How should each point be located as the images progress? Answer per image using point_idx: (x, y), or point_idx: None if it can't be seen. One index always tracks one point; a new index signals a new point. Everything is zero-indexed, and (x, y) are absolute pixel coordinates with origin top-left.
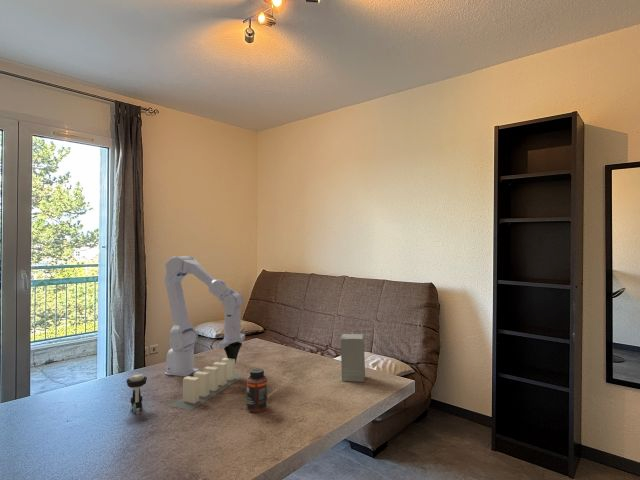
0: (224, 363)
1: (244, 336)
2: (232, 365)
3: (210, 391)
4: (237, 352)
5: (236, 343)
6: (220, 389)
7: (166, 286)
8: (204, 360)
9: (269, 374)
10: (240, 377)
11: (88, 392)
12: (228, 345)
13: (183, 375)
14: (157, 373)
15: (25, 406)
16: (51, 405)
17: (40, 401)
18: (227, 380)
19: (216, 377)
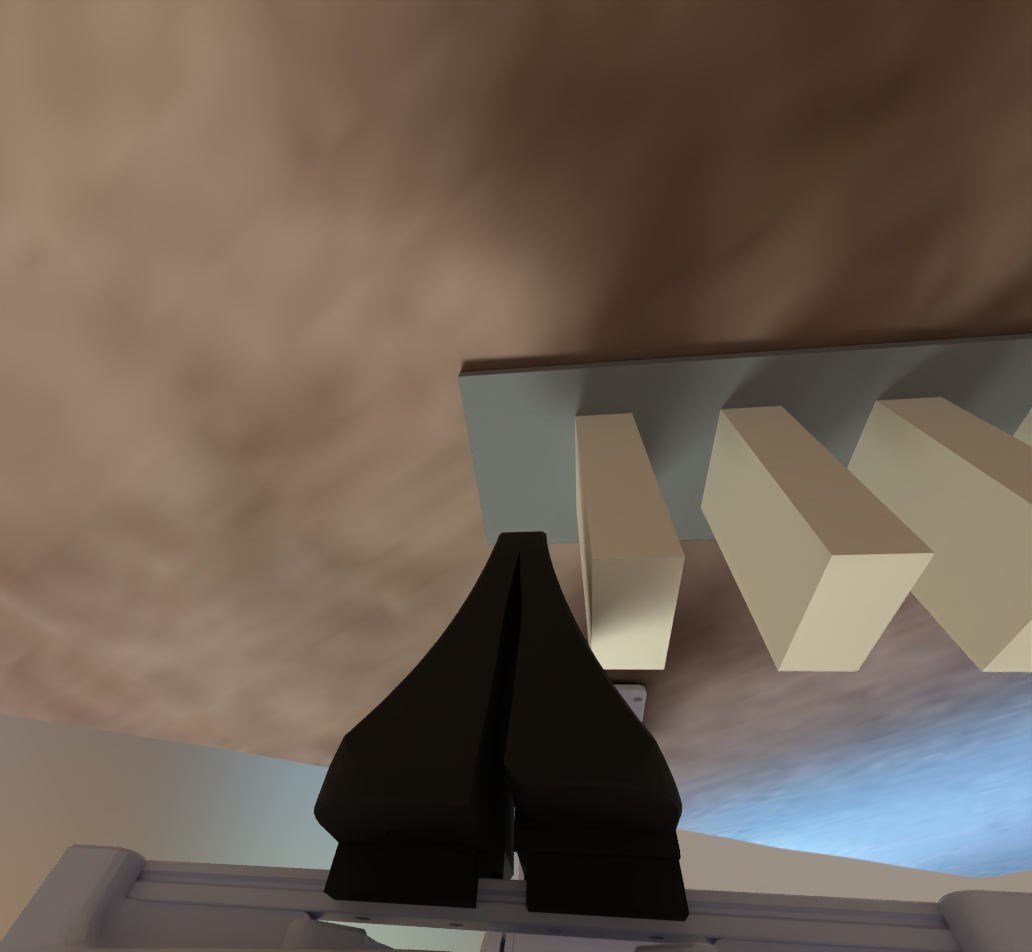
0: (847, 575)
1: (28, 934)
2: (648, 505)
3: None
4: (479, 636)
5: (436, 843)
6: (894, 372)
7: None
8: None
9: (219, 123)
10: (524, 385)
11: (891, 817)
12: (709, 892)
13: (643, 698)
14: None
15: (1022, 855)
16: (1027, 828)
17: (977, 851)
18: None
19: (1023, 467)
